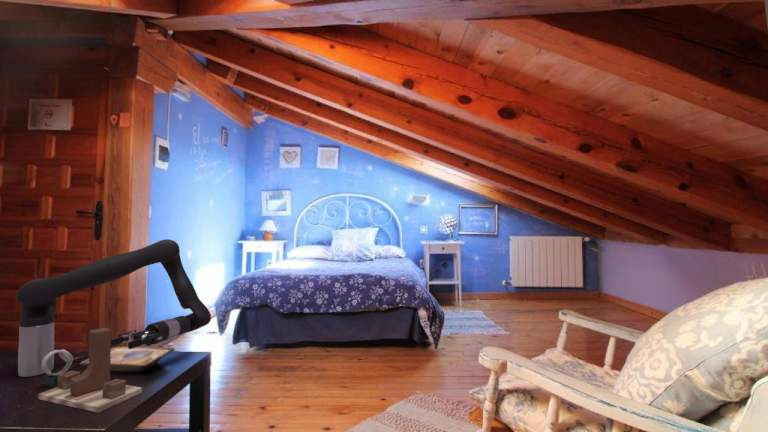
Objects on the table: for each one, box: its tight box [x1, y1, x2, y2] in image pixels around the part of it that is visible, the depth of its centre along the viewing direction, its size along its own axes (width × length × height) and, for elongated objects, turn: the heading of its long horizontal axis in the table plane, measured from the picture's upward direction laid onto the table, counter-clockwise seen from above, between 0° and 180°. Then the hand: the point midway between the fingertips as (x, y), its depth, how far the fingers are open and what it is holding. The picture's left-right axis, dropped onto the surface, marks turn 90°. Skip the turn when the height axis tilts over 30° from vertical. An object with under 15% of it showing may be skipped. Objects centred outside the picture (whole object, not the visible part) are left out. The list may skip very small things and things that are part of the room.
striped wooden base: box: [37, 370, 143, 414], centre depth 113 cm, size 26×13×6 cm, turn 72°
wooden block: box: [70, 327, 112, 397], centre depth 114 cm, size 9×4×18 cm, turn 146°
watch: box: [41, 348, 74, 389], centre depth 122 cm, size 6×8×11 cm
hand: (119, 344), depth 122 cm, fingers open, 8 cm apart
